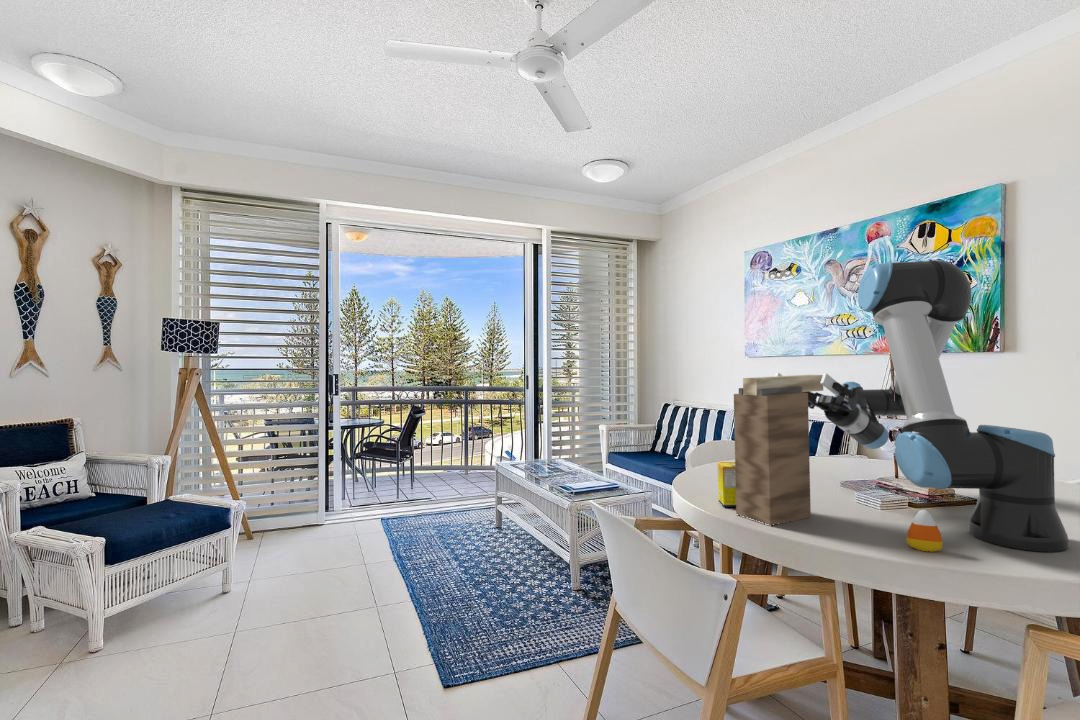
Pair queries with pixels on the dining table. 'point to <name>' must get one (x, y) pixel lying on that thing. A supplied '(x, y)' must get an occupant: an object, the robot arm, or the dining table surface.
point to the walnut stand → (772, 455)
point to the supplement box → (727, 484)
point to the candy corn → (924, 533)
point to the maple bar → (782, 383)
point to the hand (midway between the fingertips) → (798, 377)
